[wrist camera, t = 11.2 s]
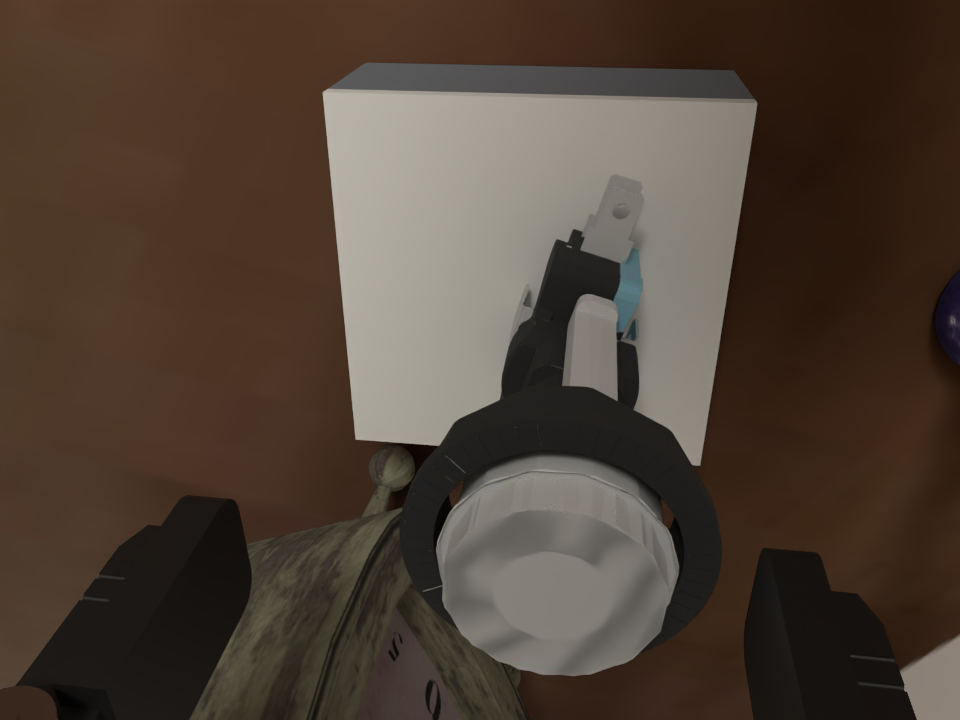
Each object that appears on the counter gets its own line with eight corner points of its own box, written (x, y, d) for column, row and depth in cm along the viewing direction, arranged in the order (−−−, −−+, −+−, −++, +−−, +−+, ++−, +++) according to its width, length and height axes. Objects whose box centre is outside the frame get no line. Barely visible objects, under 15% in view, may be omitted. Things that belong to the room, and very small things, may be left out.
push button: (523, 137, 19) (455, 331, 11) (737, 206, 19) (840, 453, 11) (451, 367, 23) (355, 656, 14) (634, 425, 23) (649, 746, 14)
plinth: (366, 62, 23) (322, 92, 20) (733, 70, 22) (757, 103, 18) (387, 372, 28) (355, 439, 24) (688, 392, 27) (700, 465, 23)
